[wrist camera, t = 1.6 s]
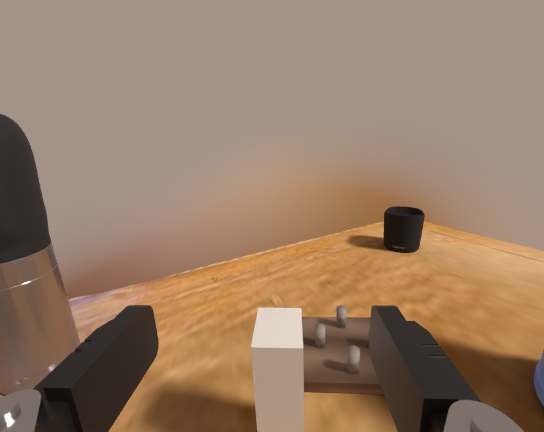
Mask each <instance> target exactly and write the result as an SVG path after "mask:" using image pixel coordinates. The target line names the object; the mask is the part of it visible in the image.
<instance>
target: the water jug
mask: <svg viewBox="0 0 544 432" xmlns="http://www.w3.org/2000/svg"><path fill="white" fill-rule="evenodd" d="M534 387H535V390H536V393H537V396H538V398H539V400H540V402H541V403H542V405H543V407H544V350H543V353H542V357H541V359H540V360H539V362H538V364H537V367H536V369H535V374H534Z"/></svg>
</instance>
